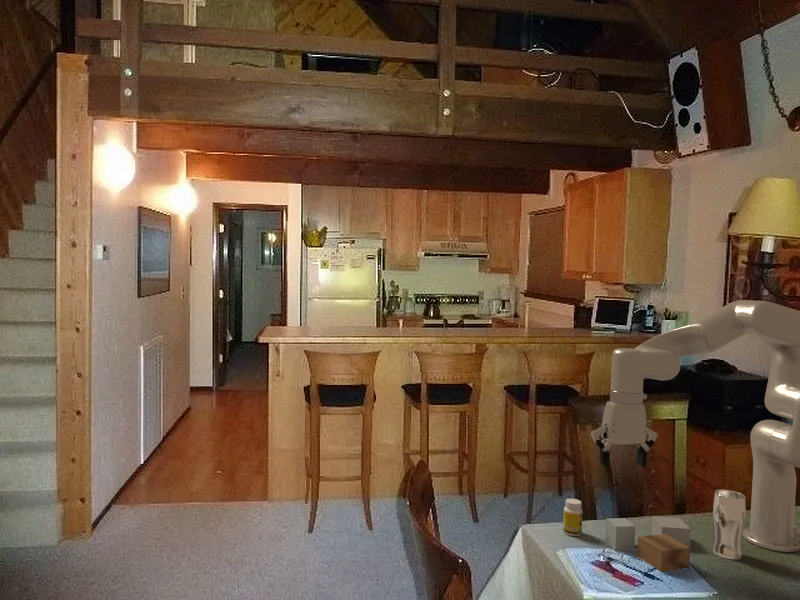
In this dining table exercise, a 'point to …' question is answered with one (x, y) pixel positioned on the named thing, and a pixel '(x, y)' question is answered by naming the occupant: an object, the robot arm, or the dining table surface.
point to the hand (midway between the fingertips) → (622, 465)
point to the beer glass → (728, 523)
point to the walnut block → (663, 552)
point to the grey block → (672, 528)
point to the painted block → (620, 534)
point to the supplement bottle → (572, 517)
